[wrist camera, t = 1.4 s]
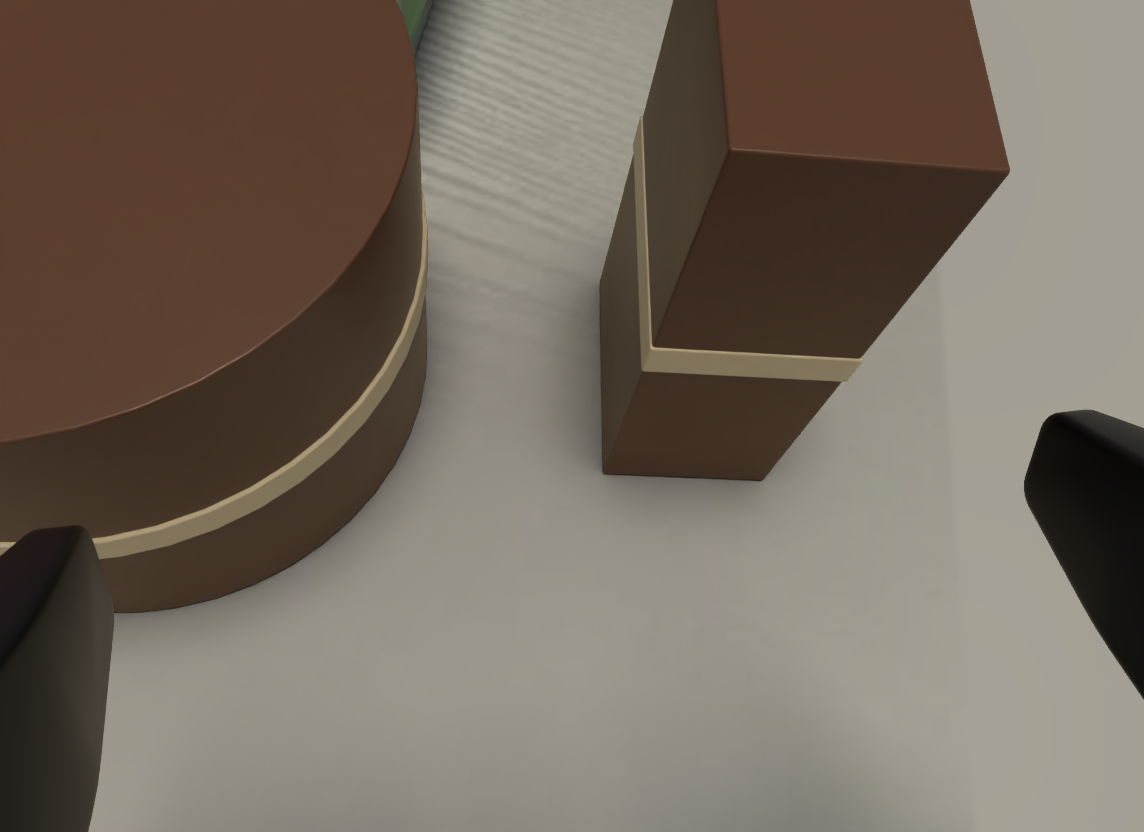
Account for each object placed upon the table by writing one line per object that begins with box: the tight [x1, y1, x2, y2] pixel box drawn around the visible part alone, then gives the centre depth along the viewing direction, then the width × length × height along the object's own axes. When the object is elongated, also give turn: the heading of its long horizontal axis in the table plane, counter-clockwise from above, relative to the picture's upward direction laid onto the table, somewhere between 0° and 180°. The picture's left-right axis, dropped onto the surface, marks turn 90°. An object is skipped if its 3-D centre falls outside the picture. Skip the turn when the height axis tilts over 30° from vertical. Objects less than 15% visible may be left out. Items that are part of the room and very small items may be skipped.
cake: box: [0, 0, 428, 613], centre depth 22 cm, size 14×14×10 cm
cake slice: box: [600, 0, 1010, 480], centre depth 22 cm, size 6×4×13 cm
